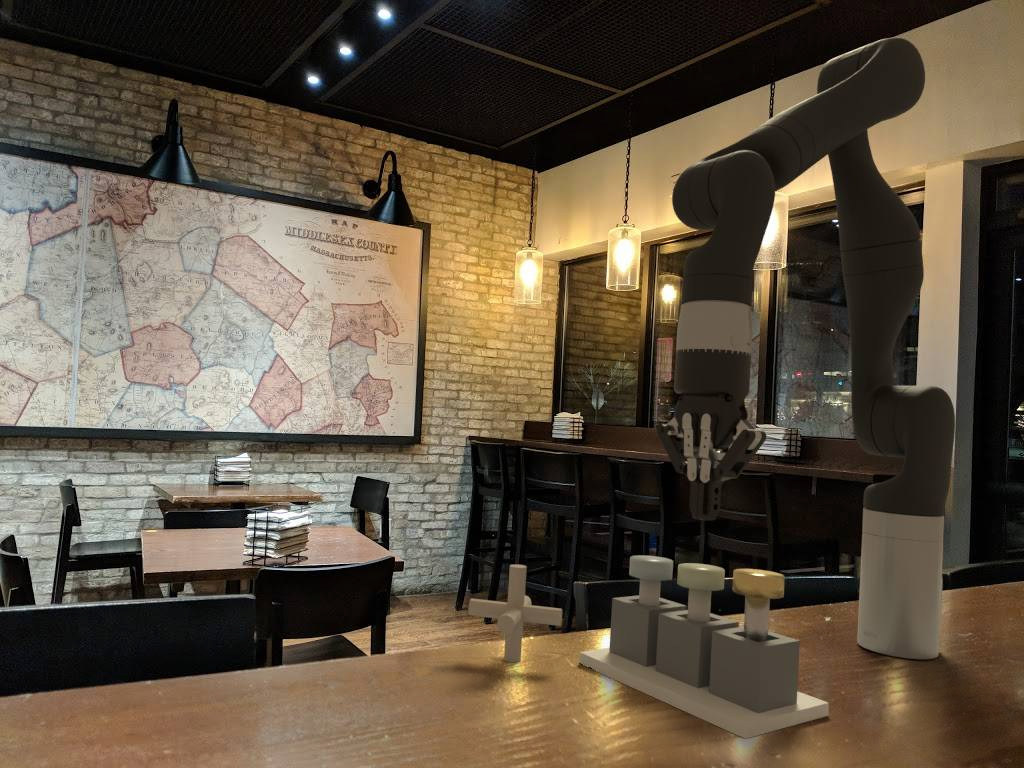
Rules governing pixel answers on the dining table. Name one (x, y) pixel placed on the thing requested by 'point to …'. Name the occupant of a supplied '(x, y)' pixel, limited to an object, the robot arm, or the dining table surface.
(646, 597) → the slate plug
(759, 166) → the robot arm
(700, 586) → the sage plug
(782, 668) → the socket board
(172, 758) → the dining table surface
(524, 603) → the pipe connector
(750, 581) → the brass plug
